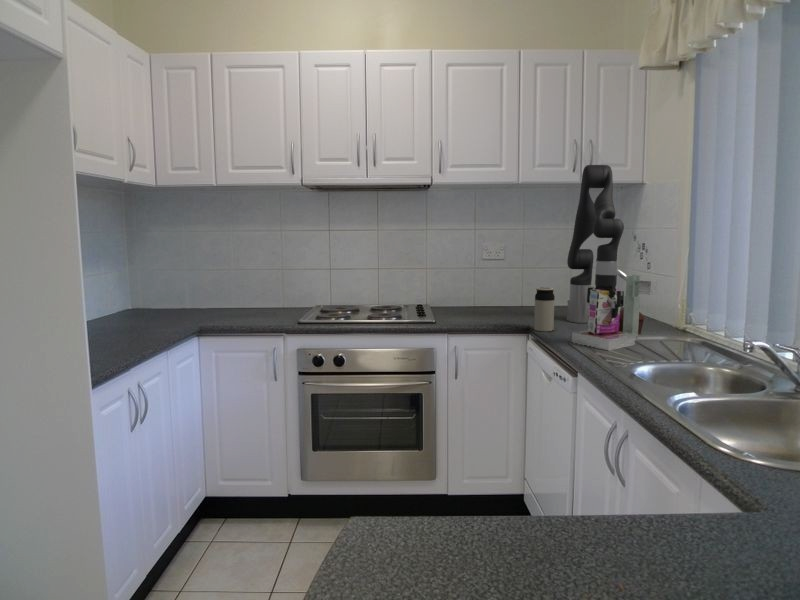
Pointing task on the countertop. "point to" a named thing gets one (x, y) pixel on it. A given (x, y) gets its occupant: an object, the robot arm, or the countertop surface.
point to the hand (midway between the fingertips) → (604, 316)
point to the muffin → (638, 325)
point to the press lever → (641, 284)
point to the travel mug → (544, 309)
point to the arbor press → (629, 323)
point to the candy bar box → (602, 313)
